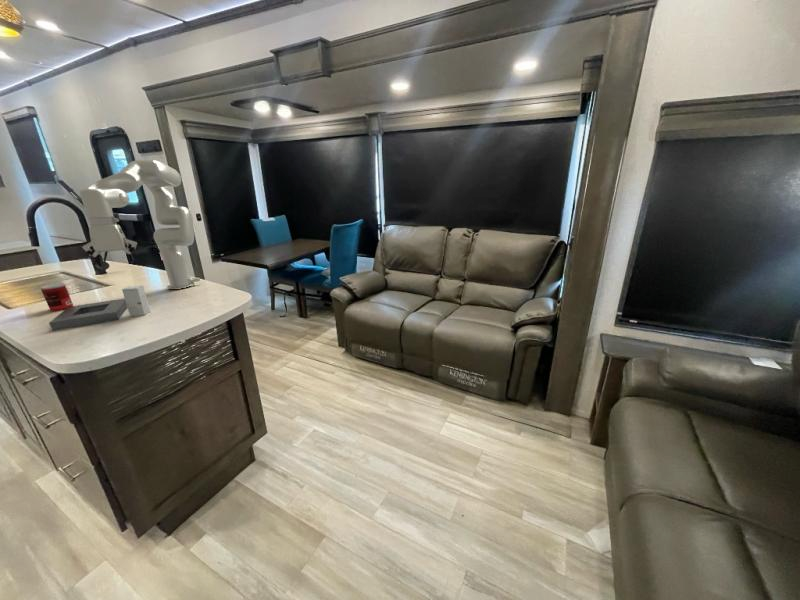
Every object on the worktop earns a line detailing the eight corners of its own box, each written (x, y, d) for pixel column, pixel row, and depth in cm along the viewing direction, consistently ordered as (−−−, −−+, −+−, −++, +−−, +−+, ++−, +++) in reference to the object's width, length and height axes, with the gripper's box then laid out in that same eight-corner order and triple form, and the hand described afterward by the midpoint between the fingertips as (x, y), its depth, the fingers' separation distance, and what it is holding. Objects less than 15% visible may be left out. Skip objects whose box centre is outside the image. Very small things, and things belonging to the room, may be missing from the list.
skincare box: (129, 316, 133) (120, 289, 129) (136, 312, 138) (127, 286, 133) (145, 315, 134) (136, 288, 130) (151, 311, 138) (143, 285, 134)
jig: (129, 305, 147) (127, 298, 146) (118, 319, 130) (115, 311, 129) (72, 314, 138) (68, 306, 137) (52, 331, 121) (48, 322, 120)
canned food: (72, 304, 151) (63, 282, 147) (75, 307, 146) (65, 284, 142) (49, 308, 145) (39, 286, 141) (51, 312, 140) (40, 289, 136)
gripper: (132, 220, 130) (145, 260, 136) (79, 222, 124) (94, 265, 130) (126, 221, 124) (139, 264, 130) (69, 224, 118) (85, 269, 123)
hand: (116, 264), depth 130 cm, fingers open, 9 cm apart
